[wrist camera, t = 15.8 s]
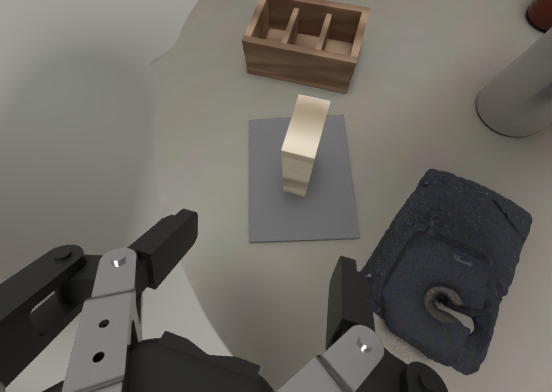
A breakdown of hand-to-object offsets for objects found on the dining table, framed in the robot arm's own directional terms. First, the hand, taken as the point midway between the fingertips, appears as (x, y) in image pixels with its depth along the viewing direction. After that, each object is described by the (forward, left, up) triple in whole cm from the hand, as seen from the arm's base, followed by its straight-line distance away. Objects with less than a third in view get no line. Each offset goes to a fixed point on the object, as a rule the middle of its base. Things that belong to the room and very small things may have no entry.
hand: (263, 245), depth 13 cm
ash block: (-10, -6, -18) cm, 21 cm away
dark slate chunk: (-15, +14, -19) cm, 28 cm away
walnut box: (-25, -20, -18) cm, 37 cm away
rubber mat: (-10, -6, -18) cm, 22 cm away
